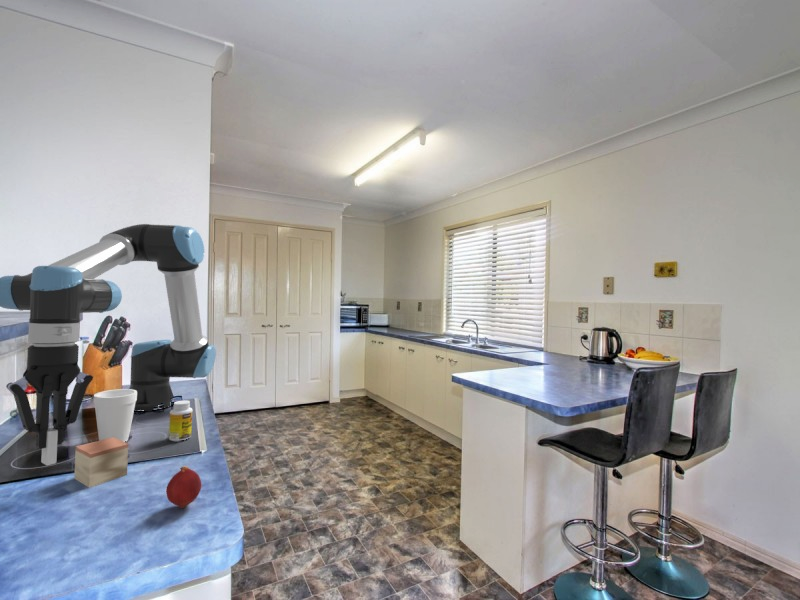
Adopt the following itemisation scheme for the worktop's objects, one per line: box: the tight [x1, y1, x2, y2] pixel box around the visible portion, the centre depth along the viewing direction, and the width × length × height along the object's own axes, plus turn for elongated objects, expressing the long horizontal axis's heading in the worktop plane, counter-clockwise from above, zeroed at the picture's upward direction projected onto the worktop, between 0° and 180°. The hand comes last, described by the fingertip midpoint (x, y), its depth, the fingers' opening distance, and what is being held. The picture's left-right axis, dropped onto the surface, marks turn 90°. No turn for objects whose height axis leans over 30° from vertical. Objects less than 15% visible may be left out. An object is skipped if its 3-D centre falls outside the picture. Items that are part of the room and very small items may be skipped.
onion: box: [166, 465, 202, 509], centre depth 73 cm, size 6×6×8 cm
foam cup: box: [93, 388, 137, 443], centre depth 103 cm, size 10×9×13 cm
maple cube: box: [74, 437, 129, 488], centre depth 84 cm, size 7×7×7 cm
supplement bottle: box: [168, 399, 194, 442], centre depth 107 cm, size 6×6×10 cm
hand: (48, 462), depth 76 cm, fingers closed
